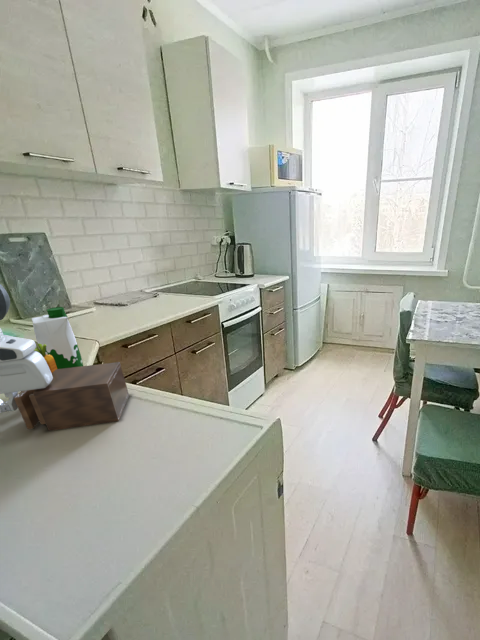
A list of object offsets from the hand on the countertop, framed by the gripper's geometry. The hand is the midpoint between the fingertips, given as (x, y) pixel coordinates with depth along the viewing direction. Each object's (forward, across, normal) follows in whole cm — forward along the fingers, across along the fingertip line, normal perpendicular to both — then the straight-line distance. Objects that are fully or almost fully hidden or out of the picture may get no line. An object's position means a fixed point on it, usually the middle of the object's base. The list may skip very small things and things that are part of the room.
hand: (9, 410), depth 76 cm
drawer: (+4, +9, +4) cm, 11 cm away
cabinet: (+5, +14, +4) cm, 16 cm away
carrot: (+5, +2, +16) cm, 17 cm away
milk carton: (+5, +1, +29) cm, 30 cm away
